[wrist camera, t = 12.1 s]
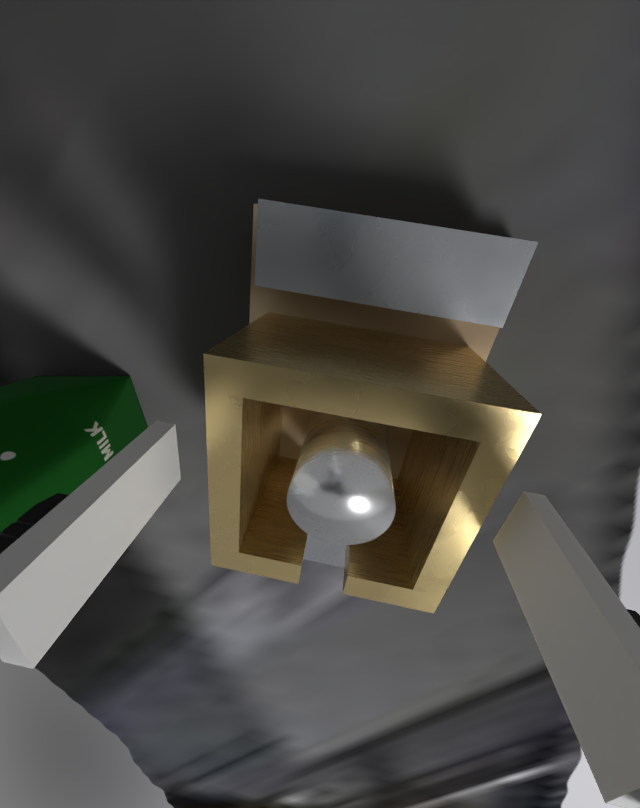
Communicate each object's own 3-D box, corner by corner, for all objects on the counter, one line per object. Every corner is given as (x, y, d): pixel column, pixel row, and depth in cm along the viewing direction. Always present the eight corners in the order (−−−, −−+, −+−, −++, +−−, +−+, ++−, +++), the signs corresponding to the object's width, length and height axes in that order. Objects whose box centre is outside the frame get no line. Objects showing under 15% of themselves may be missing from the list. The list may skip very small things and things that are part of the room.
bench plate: (263, 207, 15) (253, 203, 13) (517, 247, 14) (532, 247, 13) (249, 498, 24) (242, 513, 22) (405, 531, 23) (408, 548, 22)
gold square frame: (268, 311, 16) (203, 353, 9) (468, 346, 15) (541, 414, 9) (258, 467, 20) (211, 564, 14) (412, 497, 20) (433, 613, 13)
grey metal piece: (275, 207, 13) (199, 170, 7) (508, 243, 13) (641, 237, 7) (255, 516, 22) (213, 620, 16) (394, 545, 22) (405, 664, 15)
